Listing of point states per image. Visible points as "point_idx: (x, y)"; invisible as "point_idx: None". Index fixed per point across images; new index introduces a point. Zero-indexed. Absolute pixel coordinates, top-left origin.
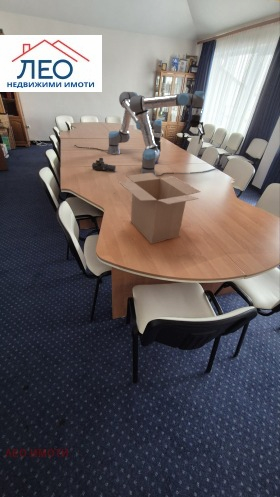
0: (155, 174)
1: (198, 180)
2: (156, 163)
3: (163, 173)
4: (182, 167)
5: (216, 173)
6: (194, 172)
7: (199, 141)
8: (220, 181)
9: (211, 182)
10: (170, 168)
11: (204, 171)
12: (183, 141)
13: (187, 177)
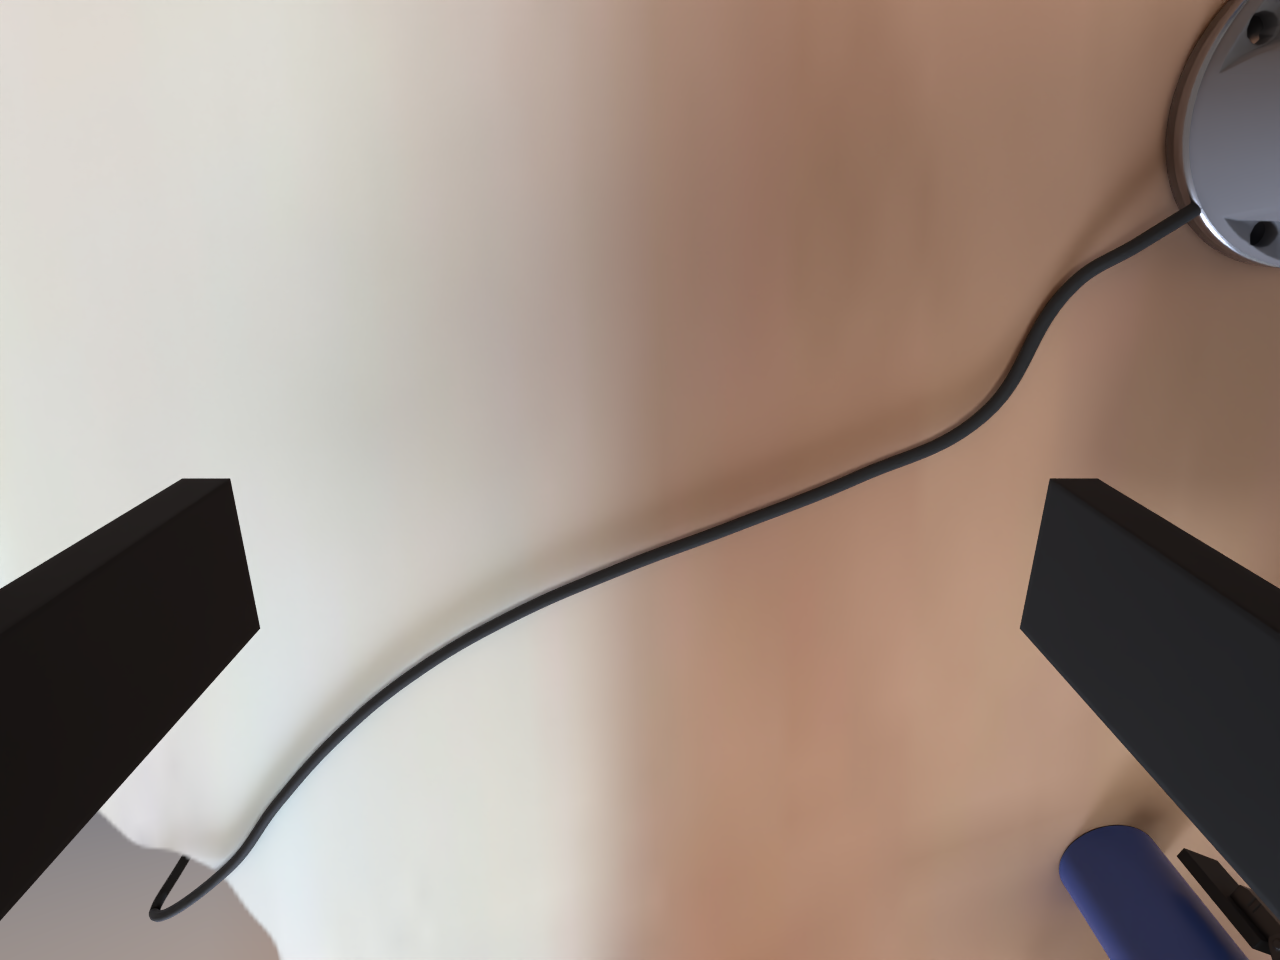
0: (1222, 110)
1: (399, 290)
2: (1085, 841)
3: (1011, 388)
4: (683, 816)
5: None
6: (489, 627)
7: (122, 528)
8: (43, 379)
9: (176, 268)
10: (869, 713)
11: (341, 727)
12: (1087, 494)
13: (591, 379)
